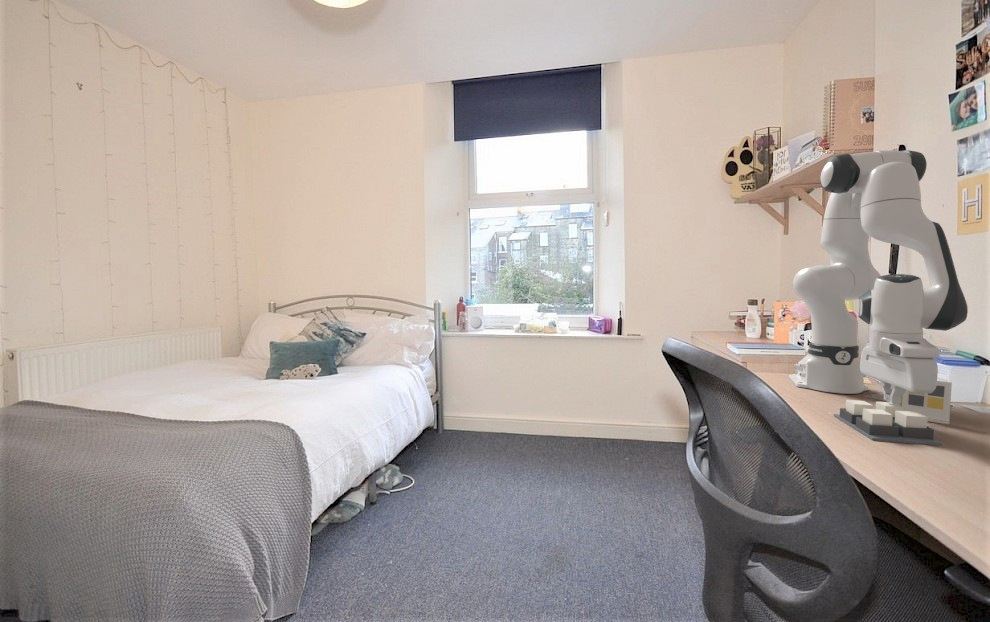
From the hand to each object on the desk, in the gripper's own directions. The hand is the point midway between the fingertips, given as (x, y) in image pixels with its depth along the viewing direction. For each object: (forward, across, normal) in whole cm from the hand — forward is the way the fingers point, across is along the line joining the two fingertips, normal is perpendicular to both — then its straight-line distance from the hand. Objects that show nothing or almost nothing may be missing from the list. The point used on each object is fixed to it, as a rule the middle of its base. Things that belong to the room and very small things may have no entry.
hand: (892, 402), depth 95 cm
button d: (+4, +7, -6) cm, 10 cm away
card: (+6, -7, +10) cm, 14 cm away
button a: (+4, 0, 0) cm, 4 cm away
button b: (+4, +7, 0) cm, 8 cm away
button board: (+6, +3, -3) cm, 7 cm away
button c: (+4, 0, -6) cm, 7 cm away
